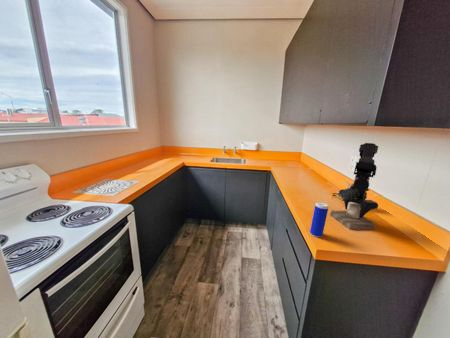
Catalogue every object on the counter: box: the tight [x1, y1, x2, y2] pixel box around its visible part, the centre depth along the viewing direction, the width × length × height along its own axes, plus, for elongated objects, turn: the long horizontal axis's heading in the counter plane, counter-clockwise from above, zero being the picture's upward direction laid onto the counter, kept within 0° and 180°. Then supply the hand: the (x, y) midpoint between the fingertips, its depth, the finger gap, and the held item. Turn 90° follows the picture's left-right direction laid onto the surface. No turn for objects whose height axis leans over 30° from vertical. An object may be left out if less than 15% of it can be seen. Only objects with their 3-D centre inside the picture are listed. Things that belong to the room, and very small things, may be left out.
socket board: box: [330, 209, 377, 230], centre depth 96 cm, size 14×14×3 cm
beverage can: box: [309, 201, 329, 238], centre depth 81 cm, size 5×5×15 cm
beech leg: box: [345, 202, 361, 220], centre depth 95 cm, size 6×6×10 cm
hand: (353, 213), depth 95 cm, fingers open, 9 cm apart
